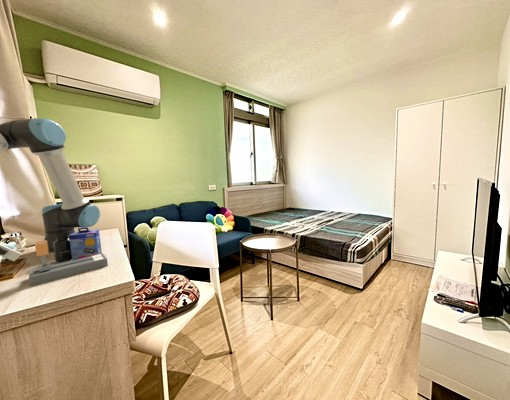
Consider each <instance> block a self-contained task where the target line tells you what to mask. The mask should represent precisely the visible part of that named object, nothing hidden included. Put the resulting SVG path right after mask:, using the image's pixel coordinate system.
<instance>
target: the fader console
mask: <svg viewBox="0 0 510 400" xmlns="http://www.w3.org/2000/svg"><path fill="white" fill-rule="evenodd" d="M108 263H109V262H108V258H107V257H106V256H105V254H104V253H103V252H102V254H98V255H94V256H89V257H85V258H80V259H76V260H70V261H66V262H58V263H55V264H51V269H50V270H45V271H41V272H39V267H38V268H32V269H30V270H29V276H28V281H29V287H31V286H32V287H33V286H37V285H40V284H44V283H47V282H51V281H55V280H58V279H63V278H65V277H66V278H67V277H70V276H75V275H77V274H81V273H85V272H89V271H93V270H97V269H100V268H104V267H107V266H108Z"/></svg>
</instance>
